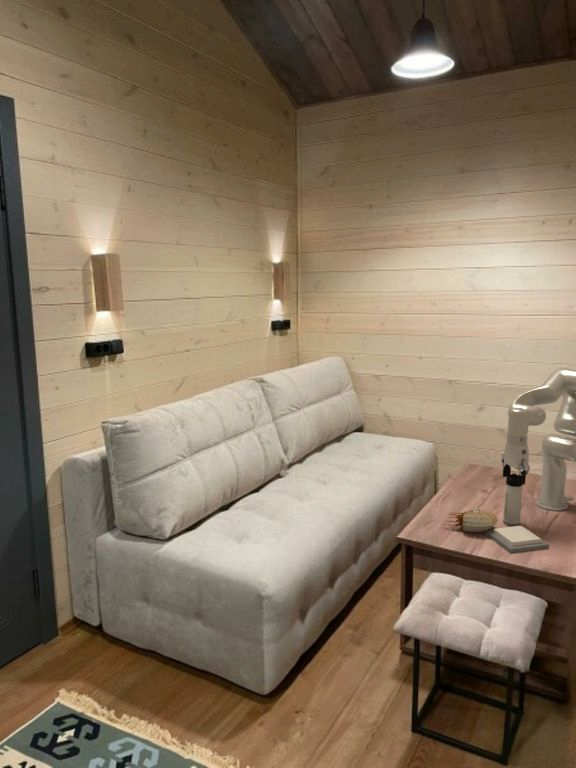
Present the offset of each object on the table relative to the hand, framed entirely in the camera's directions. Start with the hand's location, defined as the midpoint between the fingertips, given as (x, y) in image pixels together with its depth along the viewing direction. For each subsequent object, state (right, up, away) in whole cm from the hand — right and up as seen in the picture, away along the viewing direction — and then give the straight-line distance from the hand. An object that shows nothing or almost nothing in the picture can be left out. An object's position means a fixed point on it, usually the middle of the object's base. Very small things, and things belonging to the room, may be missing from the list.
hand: (513, 480), depth 234 cm
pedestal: (-4, -21, -12) cm, 25 cm away
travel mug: (+1, -18, +4) cm, 19 cm away
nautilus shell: (-18, -19, -1) cm, 26 cm away
